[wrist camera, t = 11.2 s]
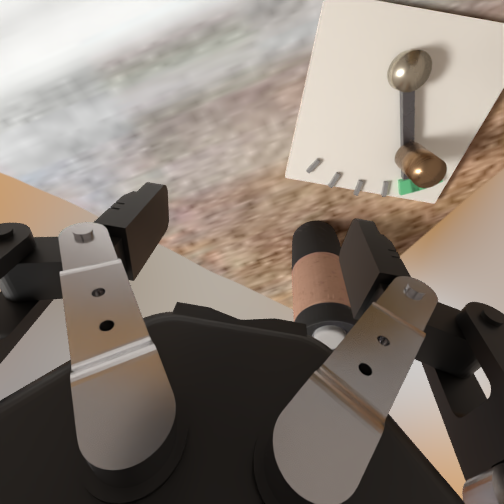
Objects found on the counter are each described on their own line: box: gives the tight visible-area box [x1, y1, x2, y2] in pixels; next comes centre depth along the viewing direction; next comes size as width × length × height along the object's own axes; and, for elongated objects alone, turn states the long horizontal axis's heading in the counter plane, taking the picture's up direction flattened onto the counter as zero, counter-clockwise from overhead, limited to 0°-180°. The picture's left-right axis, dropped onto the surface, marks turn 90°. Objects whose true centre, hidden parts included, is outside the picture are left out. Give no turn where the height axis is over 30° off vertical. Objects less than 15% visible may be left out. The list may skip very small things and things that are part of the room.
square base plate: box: [285, 0, 504, 204], centre depth 33 cm, size 20×21×2 cm
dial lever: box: [387, 50, 447, 188], centre depth 29 cm, size 14×4×7 cm, turn 18°
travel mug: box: [292, 221, 358, 351], centre depth 37 cm, size 8×8×20 cm
